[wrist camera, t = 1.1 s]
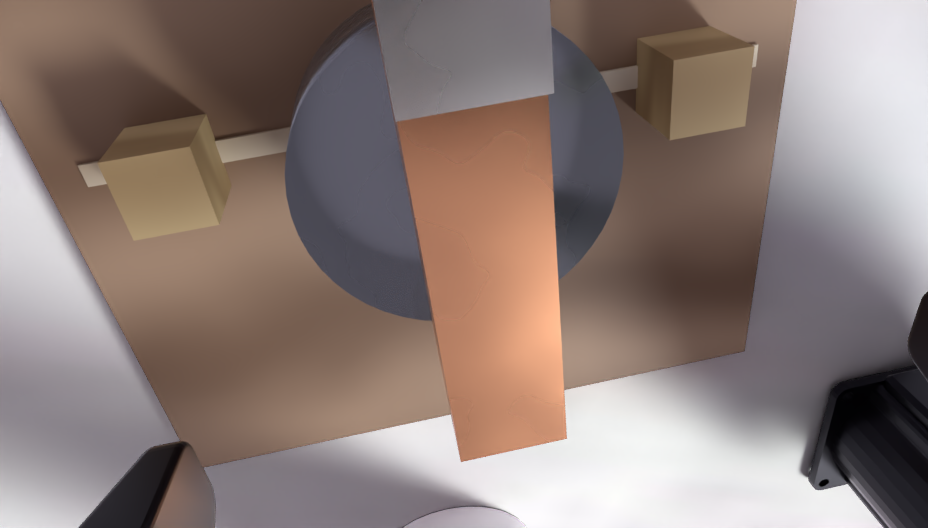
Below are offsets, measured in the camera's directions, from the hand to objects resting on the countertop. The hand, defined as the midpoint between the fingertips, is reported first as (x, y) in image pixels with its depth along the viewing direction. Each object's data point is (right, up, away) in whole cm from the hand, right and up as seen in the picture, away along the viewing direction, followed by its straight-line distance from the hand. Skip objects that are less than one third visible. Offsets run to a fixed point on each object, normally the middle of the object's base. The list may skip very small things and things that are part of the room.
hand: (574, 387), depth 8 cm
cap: (-2, +4, +7) cm, 9 cm away
